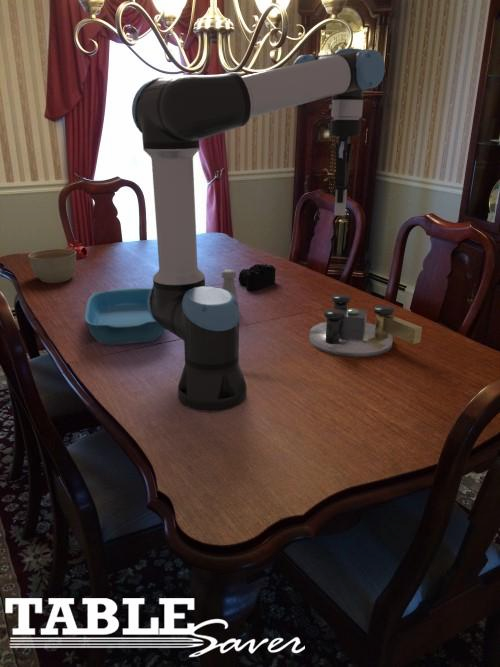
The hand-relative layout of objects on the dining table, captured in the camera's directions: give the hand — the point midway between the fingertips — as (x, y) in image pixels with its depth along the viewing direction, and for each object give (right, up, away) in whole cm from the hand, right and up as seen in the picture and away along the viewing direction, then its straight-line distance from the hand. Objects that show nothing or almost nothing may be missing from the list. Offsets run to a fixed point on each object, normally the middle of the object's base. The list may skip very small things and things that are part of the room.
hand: (339, 214), depth 146 cm
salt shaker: (-30, -24, +26) cm, 47 cm away
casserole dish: (-58, -30, +13) cm, 67 cm away
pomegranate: (-95, -2, +82) cm, 126 cm away
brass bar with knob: (+14, -33, -3) cm, 36 cm away
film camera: (-22, -15, +51) cm, 58 cm away
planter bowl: (-93, -13, +54) cm, 109 cm away
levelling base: (+4, -33, +4) cm, 34 cm away
